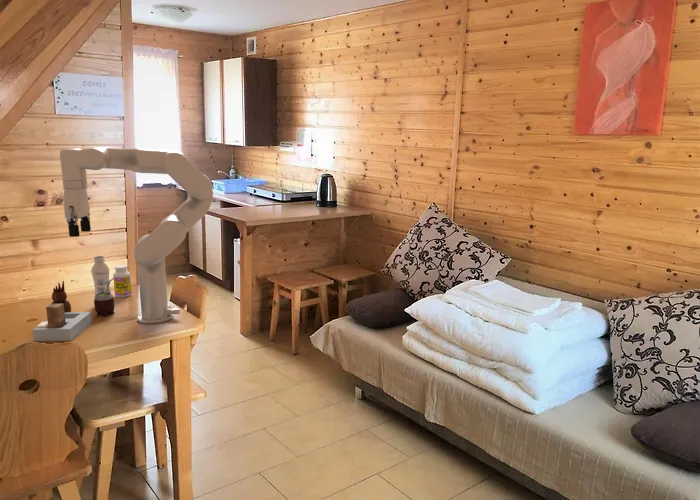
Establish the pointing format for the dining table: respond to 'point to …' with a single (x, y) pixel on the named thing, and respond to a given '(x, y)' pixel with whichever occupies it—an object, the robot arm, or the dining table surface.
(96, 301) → the mate gourd
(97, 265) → the plastic bottle
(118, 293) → the supplement bottle
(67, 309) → the wooden figurine
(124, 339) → the dining table surface
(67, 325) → the socket board
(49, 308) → the plug
